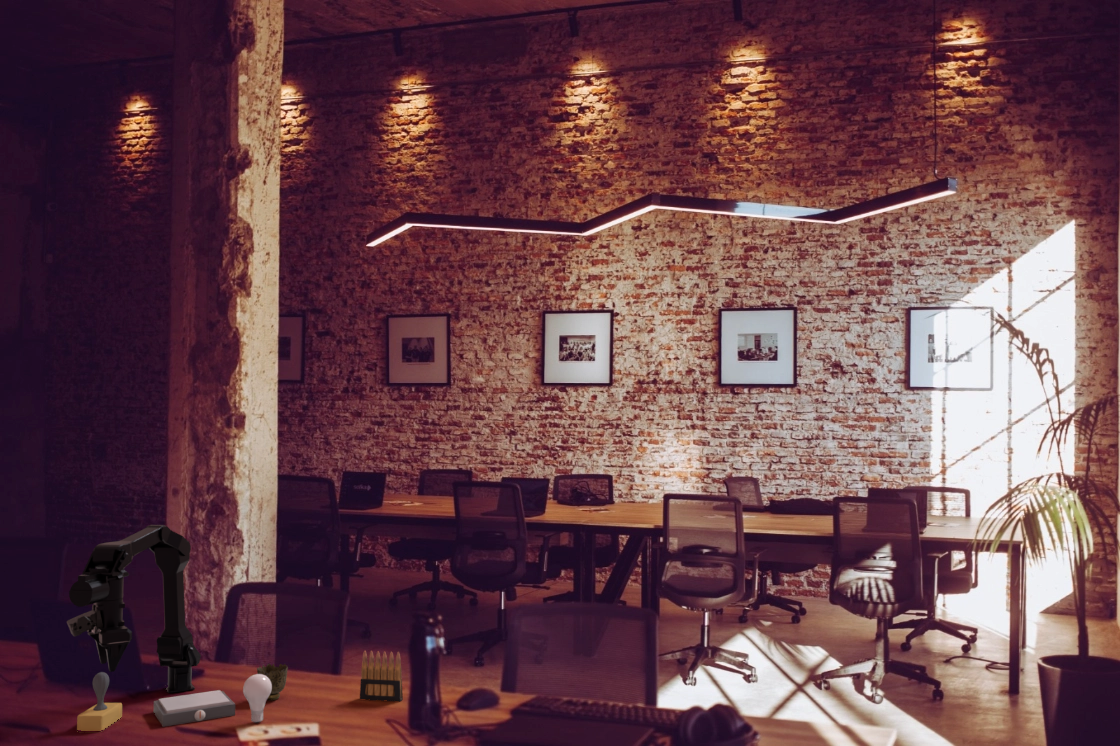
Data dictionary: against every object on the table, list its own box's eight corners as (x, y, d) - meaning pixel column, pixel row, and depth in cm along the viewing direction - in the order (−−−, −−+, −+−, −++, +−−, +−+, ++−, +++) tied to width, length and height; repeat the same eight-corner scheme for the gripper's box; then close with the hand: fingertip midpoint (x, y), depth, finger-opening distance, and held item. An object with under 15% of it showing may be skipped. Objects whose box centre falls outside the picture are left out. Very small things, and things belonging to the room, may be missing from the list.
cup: (292, 695, 242) (292, 663, 242) (280, 703, 234) (281, 670, 235) (263, 694, 242) (264, 662, 243) (251, 703, 235) (252, 670, 236)
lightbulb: (245, 728, 215) (245, 679, 216) (240, 720, 221) (241, 672, 222) (273, 724, 218) (274, 675, 219) (268, 716, 224) (269, 669, 225)
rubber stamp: (101, 732, 214) (102, 678, 214) (76, 732, 214) (77, 678, 214) (122, 718, 224) (123, 666, 224) (98, 718, 224) (99, 666, 224)
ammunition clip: (359, 699, 238) (359, 651, 238) (362, 697, 240) (362, 649, 240) (400, 701, 236) (400, 652, 237) (402, 699, 238) (403, 651, 238)
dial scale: (153, 712, 228) (153, 698, 228) (222, 701, 236) (222, 688, 237) (163, 727, 216) (163, 713, 217) (235, 715, 225) (235, 702, 225)
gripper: (63, 596, 222) (61, 664, 221) (78, 608, 207) (76, 681, 207) (114, 592, 229) (113, 657, 228) (133, 603, 214) (131, 673, 213)
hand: (107, 667), depth 219 cm, fingers open, 9 cm apart
